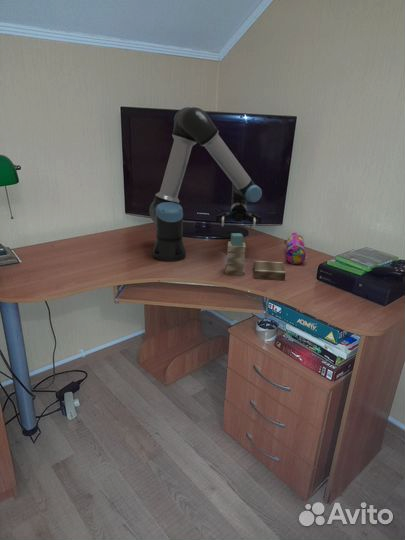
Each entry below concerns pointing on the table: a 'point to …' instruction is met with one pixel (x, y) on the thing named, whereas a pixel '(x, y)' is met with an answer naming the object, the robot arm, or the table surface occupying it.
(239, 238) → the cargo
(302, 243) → the pencil case
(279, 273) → the dock
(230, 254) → the wooden block tower
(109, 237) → the table surface
